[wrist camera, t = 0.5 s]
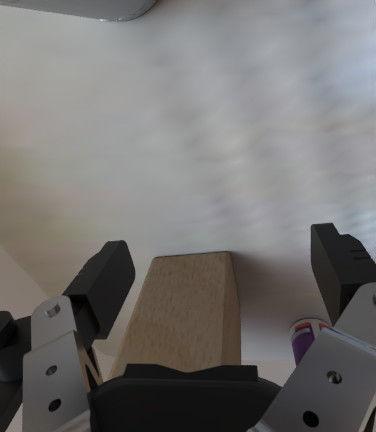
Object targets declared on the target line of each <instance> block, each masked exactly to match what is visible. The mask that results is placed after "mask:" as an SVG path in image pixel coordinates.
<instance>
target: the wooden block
mask: <svg viewBox="0 0 376 432" xmlns="http://www.w3.org/2000/svg"><path fill="white" fill-rule="evenodd" d="M127 363H136V364H159V365H162V366H166V367H169V368H172V369H176V370H179V371H183V372H194V371H198V370H203V369H207V368H211V367H216V366H220V365H241V322H240V303H239V298H238V292H237V287H236V281H235V276H234V270H233V265H232V260H231V255H230V254H229V252H216V253H204V254H192V255H180V256H168V257H156V258H154V259H153V260H152V262H151V265H150V268H149V270H148V273H147V276H146V278H145V281H144V284H143V286H142V289H141V292H140V294H139V297H138V300H137V302H136V305H135V308H134V310H133V313H132V316H131V318H130V321H129V324H128V326H127V329H126V332H125V334H124V337H123V339H122V342H121V345H120V347H119V350H118V353H117V355H116V358H115V361H114V364H113V366H112V369H111V371H110V374H109V377H108V379H107V381H108V380H110V379H112V378H115V377H117V376H120V375H123V374H124V371H125V368H126V365H127Z"/></svg>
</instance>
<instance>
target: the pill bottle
mask: <svg viewBox="0 0 376 432" xmlns="http://www.w3.org/2000/svg"><path fill="white" fill-rule="evenodd" d="M324 327H329V325H328V324H327V323H325V322H324V321H321V320H318V319H303V320H300V321H298V322H296V323H295V324H294V325H293V326H292V327H291V329H290V337H291V342H292V347H293V352H294V357H295V362H296V367H297V365H298V364H299V362H300V361H301V359H302V358H303V356H304V355H305V353H306V352H307V350H308V349H309V347H310V346H311V345H312V343H313V342H314V340H315V339H316V337H317V336H318V334H319V333H320V331H321V330H322V329H323V328H324ZM329 328H330V327H329Z"/></svg>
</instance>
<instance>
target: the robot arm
mask: <svg viewBox="0 0 376 432" xmlns="http://www.w3.org/2000/svg"><path fill="white" fill-rule="evenodd" d="M156 1H157V0H0V5H4V6H11V7H18V8H25V9H32V10H39V11H46V12H53V13H59V14H66V15H73V16H80V17H87V18H94V19H98V20H103V21H117V22H120V21H128V20H132V19H134V18H136V17H139V16H141V15H142V14H143V13H145V12H146V11H147V10H149V9H150V8H151V7H152V6H153V4H154V3H155V2H156ZM311 265H312V270H313V273H314V276H315V279H316V281H317V284H318V287H319V290H320V292H321V295H322V298H323V301H324V303H325V306H326V309H327V312H328V314H329V317H330V320H331V323H332V325H333V328H332V329H331V328H329V327H324V328H323V329H322V330H321V331H320V333H319V334H318V336H317V337H316V339H315V340H314V342H313V343H312V345H311V346H310V347H309V349H308V350H307V352H306V353H305V355H304V356H303V358H302V359H301V361H300V362H299V364H298V365H297V367H296V368H295V370H294V371H293V373H292V374H291V375H290V377H289V378H288V380H287V381H286V383H285V384H284V386H283V387H281V386H279V385H277V384H275V383H273V382H271V381H268V380H266V379H263V378H260V377H258V370H257V366H255V365H220V366H216V367H211V368H207V369H203V370H198V371H194V372H183V371H179V370H176V369H172V368H169V367H166V366H162V365H159V364H136V363H127V365H126V368H125V371H124V374H123V375H120V376H117V377H115V378H112V379H110V380H108V381H106V382H103V379H102V376H101V372H100V369H99V365H98V361H97V358H96V354H95V350H94V348H93V346H92V343H93V341H94V340H95V339H107V337H108V335H109V333H110V331H111V329H112V327H113V324H114V322H115V320H116V318H117V316H118V314H119V312H120V310H121V308H122V305H123V303H124V301H125V299H126V297H127V295H128V293H129V291H130V289H131V287H132V284H133V282H134V280H135V267H134V264H133V261H132V258H131V255H130V252H129V249H128V246H127V244H126V242H125V241H124V240H120V241H108V242H107V243H106V244H105V245H104V246H103V248H102V249H101V251H100V252H99V253H97V254H95V255H94V256H93V257H92V258H90V259H89V260H88V261H87V262H86V264H85V265H84V266H83V269H81V270H80V272H79V273H78V275H77V276H76V277H75V278H74V280H73V281H72V282H71V284H70V285H69V286H68V288H67V289H66V290H65V291H64V293H63V294H62V295H61V296H55V297H52V298H50V299H48V300H46V301H44V302H43V303H41V304H40V305H39V306H38V307H37V308H36V309H35V310H34V311H33V313H32V315H31V316H28V317H24V318H21V319H17V320H14V319H13V317H12V315H11V314H10V312H8V311H0V432H5V431H6V429H7V428H8V426H9V424H10V423H11V421H12V419H13V417H14V416H15V414H16V412H17V411H18V409H19V407H20V405H21V403H22V402H23V414H22V416H23V417H22V432H376V264H375V262H374V261H373V259H371V256H370V255H369V253H368V252H366V249H365V248H364V246H363V245H362V243H361V242H360V241H359V240H357V239H356V238H354V237H353V236H351V235H349V234H344V235H340V234H339V233H338V231H337V229H336V228H335V226H334V224H333V223H323V224H312V225H311Z"/></svg>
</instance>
